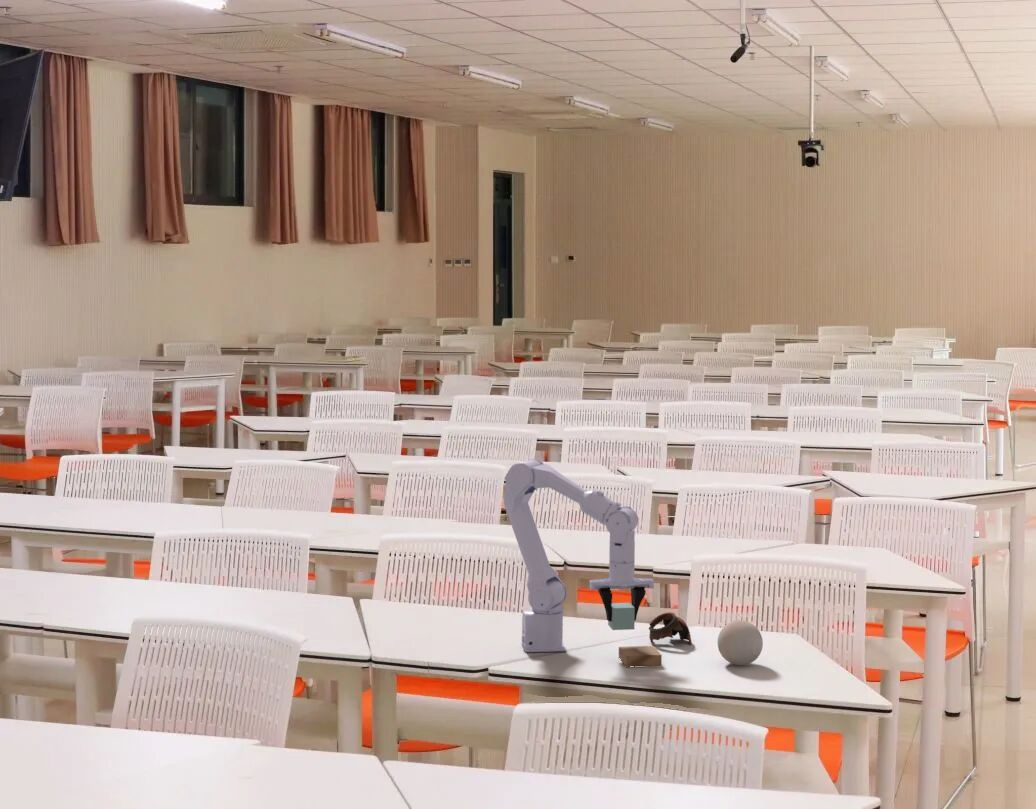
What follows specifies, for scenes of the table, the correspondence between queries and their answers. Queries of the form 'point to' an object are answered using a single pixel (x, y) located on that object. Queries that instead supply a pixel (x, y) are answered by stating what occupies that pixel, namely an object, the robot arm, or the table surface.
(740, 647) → the grey sphere
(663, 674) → the table surface
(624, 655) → the slab
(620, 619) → the cube
